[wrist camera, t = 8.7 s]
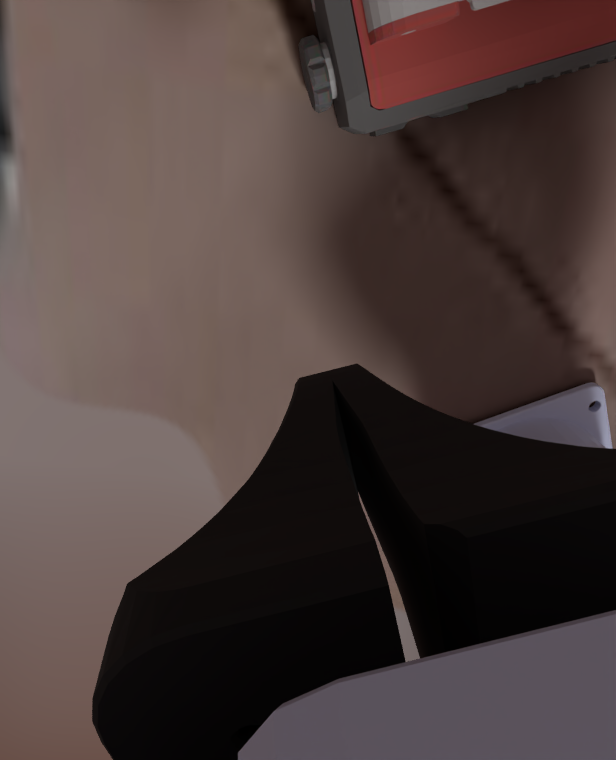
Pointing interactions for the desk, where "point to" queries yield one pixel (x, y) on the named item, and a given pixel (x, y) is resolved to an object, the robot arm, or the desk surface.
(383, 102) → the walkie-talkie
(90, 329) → the desk surface
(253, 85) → the desk surface
